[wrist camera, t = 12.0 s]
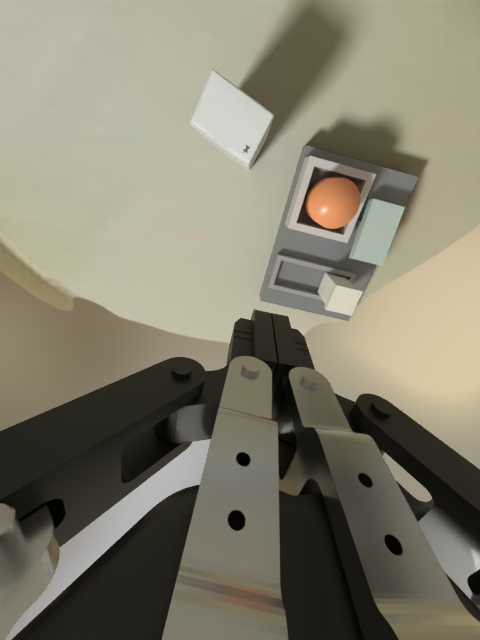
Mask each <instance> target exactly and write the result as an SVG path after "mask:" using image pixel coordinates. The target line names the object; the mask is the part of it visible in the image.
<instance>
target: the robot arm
mask: <svg viewBox="0 0 480 640" xmlns="http://www.w3.org/2000/svg"><path fill="white" fill-rule="evenodd" d="M206 439H211V442H210V446H209V450H208V454H207V458H206V463H205V466H204V470H203V474H202V478H201V483H200V485H196V486H192V487H188V488H185V489H183V490H181V491H178V492H176V493H174V494H172V495H170V496H168V497H167V498H165V499H164V500H163V501H161V502H160V503H158V504H157V505H156V506H155V507H153V508H152V509H151V510H150V511H149V512H148V513H147V514H146V515H145V516H143V517H142V518H141V519H140V520H139V521H138V522H137V523H136V524H135V525H134V526H133V527H132V528H131V529H130V530H129V531H128V532H126V533H125V534H124V535H123V536H122V537H121V538H120V539H119V540H118V541H117V542H116V543H115V544H113V545H112V546H111V547H110V548H109V549H108V550H107V551H106V552H105V553H104V554H103V555H102V556H101V557H100V558H98V559H97V560H96V561H95V562H94V563H93V564H92V565H91V566H90V567H89V568H88V569H87V570H86V571H85V572H83V573H82V575H80V576H79V577H78V578H77V579H76V580H75V581H74V582H73V583H72V584H71V585H70V586H68V587H67V588H66V589H65V590H64V591H63V592H62V593H61V594H60V595H59V596H58V597H57V598H56V599H55V600H53V602H51V603H50V604H49V605H48V606H47V607H46V608H45V609H44V610H43V611H42V612H41V613H40V614H38V615H37V617H35V618H34V619H33V620H32V621H31V622H30V623H29V624H28V625H27V626H26V627H25V628H23V630H21V631H20V632H19V633H18V634H17V635H16V636H15V637H14V638H13V639H12V640H480V470H479V469H478V468H477V467H475V466H474V465H473V464H472V463H470V462H469V461H467V460H466V459H465V458H464V457H462V456H461V455H459V454H458V453H457V452H456V451H454V450H453V449H451V448H450V447H449V446H448V445H446V444H445V443H443V442H442V441H441V440H439V439H438V438H437V437H435V436H434V435H433V434H431V433H430V432H429V431H427V430H426V429H424V428H423V427H422V426H421V425H419V424H418V423H417V422H415V421H414V420H413V419H411V418H410V417H408V416H407V415H406V414H405V413H403V412H402V411H401V410H399V409H398V408H397V407H395V406H394V405H393V404H391V403H390V402H388V401H387V400H385V399H383V398H381V397H379V396H376V395H373V394H362V395H360V396H359V397H358V398H357V400H356V402H354V401H351V400H349V399H346V398H344V397H342V396H339V395H337V394H335V393H334V392H333V389H332V387H331V385H330V383H329V382H328V380H327V379H326V378H325V377H324V376H323V375H322V374H320V373H318V372H317V371H315V369H314V365H313V362H312V359H311V357H310V353H309V350H308V347H307V344H306V341H305V337H304V336H303V335H302V334H301V333H300V332H299V331H298V330H297V329H292V328H291V326H290V322H289V318H288V316H283V315H278V314H273V313H268V312H263V311H259V310H254V311H253V314H252V317H251V320H248V319H243V318H240V319H239V320H238V321H237V322H235V325H234V329H233V333H232V338H231V342H230V346H229V351H228V358H227V365H226V367H224V368H222V369H219V370H215V371H205V370H204V368H203V366H202V365H201V364H200V363H198V362H197V361H195V360H193V359H190V358H185V357H175V358H170V359H167V360H165V361H163V362H160V363H158V364H156V365H153V366H151V367H149V368H146V369H144V370H142V371H140V372H137V373H135V374H132V375H130V376H128V377H125V378H123V379H121V380H119V381H116V382H114V383H112V384H109V385H107V386H104V387H102V388H100V389H98V390H95V391H93V392H91V393H88V394H86V395H84V396H81V397H79V398H77V399H74V400H72V401H70V402H68V403H65V404H63V405H60V406H58V407H56V408H54V409H51V410H49V411H46V412H44V413H42V414H39V415H37V416H35V417H32V418H30V419H28V420H25V421H23V422H21V423H18V424H16V425H14V426H12V427H9V428H7V429H5V430H2V431H0V640H5V639H6V637H7V635H8V634H9V632H10V631H11V629H12V628H13V626H14V625H15V623H16V622H17V621H18V619H19V618H20V617H21V616H22V615H23V613H24V612H25V611H26V610H27V609H28V608H29V607H30V606H31V605H32V604H33V603H34V602H35V601H36V600H37V599H38V598H39V597H40V596H41V594H42V593H43V592H44V591H45V589H46V587H47V586H48V584H49V583H50V581H51V579H52V577H53V575H54V573H55V571H56V568H57V565H58V561H59V552H60V550H59V547H60V546H62V545H63V544H65V543H66V542H67V541H68V540H70V539H71V538H72V537H74V536H75V535H76V534H77V533H79V532H80V531H81V530H83V529H84V528H85V527H86V526H88V525H89V524H90V523H92V522H93V521H94V520H95V519H96V518H98V517H99V516H101V515H102V514H103V513H105V512H106V511H107V510H108V509H110V508H111V507H112V506H114V505H115V504H116V503H117V502H119V501H120V500H121V499H123V498H124V497H125V496H127V495H128V494H129V493H130V492H132V491H133V490H134V489H136V488H137V487H138V486H139V485H141V484H142V483H143V482H145V481H146V480H147V479H148V478H150V477H151V476H152V475H154V474H155V473H156V472H157V471H159V470H160V469H161V468H162V467H164V466H165V465H167V464H168V463H169V462H170V461H172V460H173V459H174V458H176V457H177V456H178V455H179V454H181V453H182V452H183V451H185V450H186V449H187V448H188V447H189V446H190V445H191V443H192V441H199V440H206ZM385 452H386V453H387V454H388V455H389V456H390V457H391V458H392V459H393V460H395V461H396V462H397V463H398V464H399V465H400V466H401V467H403V468H404V469H405V470H406V471H407V472H408V473H409V474H410V475H411V476H413V477H414V478H415V479H416V480H417V481H418V482H420V484H422V485H423V486H424V487H425V488H426V489H427V490H428V491H429V493H430V494H431V496H432V499H431V501H429V502H422V501H419V500H417V499H416V498H414V497H413V496H412V495H411V494H410V493H409V492H407V491H406V490H405V489H404V488H403V487H402V486H401V485H400V484H399V483H398V482H397V481H396V480H395V479H394V477H393V475H392V473H391V471H390V469H389V467H388V465H387V464H386V462H385V460H384V458H383V456H382V455H383V454H384V453H385Z"/></svg>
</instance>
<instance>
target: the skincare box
mask: <svg viewBox="0 0 480 640" xmlns="http://www.w3.org/2000/svg"><path fill="white" fill-rule="evenodd" d="M273 118H274V115H273V114H272V113H271V112H270V111H269V110H267V109H266V108H265V107H264V106H262V105H261V104H260V103H258V102H257V101H256V100H254V99H253V98H252V97H250V96H249V95H247V94H246V93H245V92H243V91H242V90H240V89H239V88H238V87H236V86H235V85H234V84H232V83H231V82H230V81H228V80H227V79H226V78H224V77H223V76H222V75H220V74H219V73H218V72H216V71H215V70H214V69H212V70H211V73H210V75H209V77H208V80H207V82H206V84H205V87H204V89H203V91H202V94H201V96H200V98H199V100H198V103H197V105H196V107H195V110H194V112H193V115H192V117H191V119H190V123H191V125H192V126H193V127H194V128H195V129H196V130H197V131H198V132H199V133H200V134H201V135H202V136H203V137H204V138H205V139H206V140H207V141H208V142H209V143H211V144H212V145H213V146H215V147H216V148H217V149H219V150H220V151H222V152H223V153H225V154H226V155H227V156H229V157H230V158H232V159H233V160H235V161H236V162H238V163H239V164H241V165H242V166H244V167H245V168H247V169H248V170H250V169H251V167H252V165H253V163H254V161H255V160H256V158H257V156H258V154H259V152H260V150H261V148H262V146H263V144H264V143H265V141H266V139H267V136H268V133H269V130H270V127H271V124H272V121H273Z"/></svg>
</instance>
